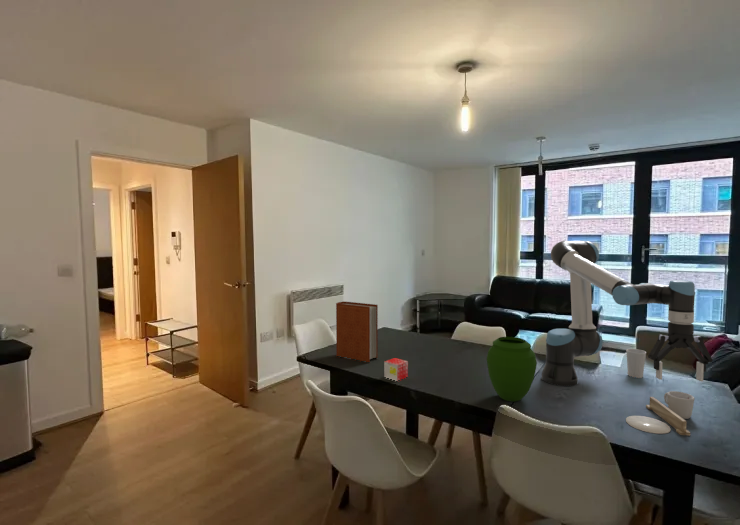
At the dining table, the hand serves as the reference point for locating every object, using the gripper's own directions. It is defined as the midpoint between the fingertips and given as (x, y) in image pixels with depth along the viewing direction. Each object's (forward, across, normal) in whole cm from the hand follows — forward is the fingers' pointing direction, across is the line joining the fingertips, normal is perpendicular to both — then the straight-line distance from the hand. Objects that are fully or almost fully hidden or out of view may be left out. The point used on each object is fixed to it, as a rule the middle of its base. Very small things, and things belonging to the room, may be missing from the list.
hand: (679, 379), depth 149 cm
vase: (+13, -59, +6) cm, 61 cm away
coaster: (+14, -15, -10) cm, 23 cm away
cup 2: (+14, 0, 0) cm, 14 cm away
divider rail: (+14, -7, -6) cm, 16 cm away
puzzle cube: (+13, -108, +24) cm, 111 cm away
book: (+12, -133, +52) cm, 143 cm away
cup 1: (+13, +5, +44) cm, 47 cm away
